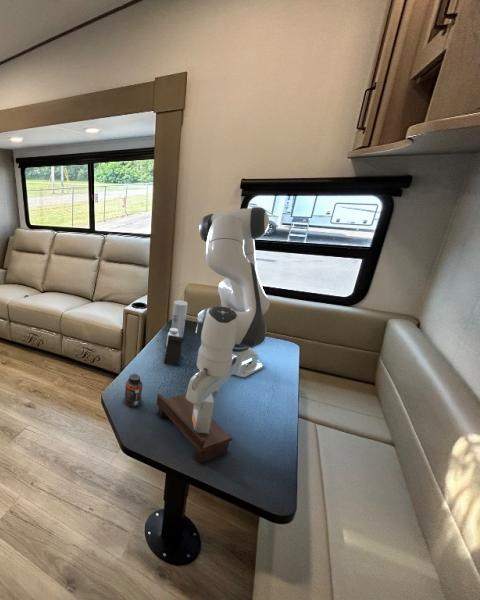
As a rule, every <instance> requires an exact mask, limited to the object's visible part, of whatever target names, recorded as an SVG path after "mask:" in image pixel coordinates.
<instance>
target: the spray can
mask: <svg viewBox="0 0 480 600" xmlns="http://www.w3.org/2000/svg"><path fill="white" fill-rule="evenodd" d="M188 305H189V304H188V302H187V301H185V300H181V299H180V300H179V299H178V300H175V301H174V303H173V309H172V310H173V311H172V319H171V320H172V321H171V327H170V328H177V329H178V334H179V337H181V338H183V339H184V332H185V326H186V318H187V312H188Z"/></svg>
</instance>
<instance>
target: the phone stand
mask: <svg viewBox="0 0 480 600" xmlns="http://www.w3.org/2000/svg"><path fill="white" fill-rule="evenodd" d="M183 339H184V337H183V338H181V337H176V336H171V335H169V337H168V343H167V342H166V345H167V346H166V350H165V357H164V361H163V362H164V364H167V365H170V366H177V367H178V366H179V363H180V361H181V355H182V346H183Z"/></svg>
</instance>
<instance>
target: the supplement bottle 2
mask: <svg viewBox="0 0 480 600" xmlns="http://www.w3.org/2000/svg"><path fill="white" fill-rule="evenodd" d="M169 335H171V336H176V337H179V334H178V329H177V328H171V327H170V328H169V332H168V333H167V336H166V337H167V338H166V345H165V346H166V347H167V343H168V337H169Z"/></svg>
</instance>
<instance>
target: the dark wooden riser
mask: <svg viewBox="0 0 480 600" xmlns="http://www.w3.org/2000/svg"><path fill="white" fill-rule="evenodd" d="M186 394H187V393H183V394H178V395H174V396H172V397H169V398H164V396H163V395H162V394H161V393H159V394H158V393H157V398H156V406H157V407H158V410H157V416H158V417H159V418H160V419H163V418H166V417H167V418H168V419H169V420H170V421H171V422H172V423H173V424H174V426H175V427H176V428H177V429H178V430H179V431H180V432H181V433H182V435H184V436H185V438H187V440H188V441H189V442H190V443H191V444H192V445H193V446H194V448H195V449H196V456H195V459H196V460H197V461H198V463H200V464H202V463H205V462H208V461H210V460H214V459H215V458H218V457H221V456H224V455H227V454H228V453H227V452H228V448H229V443H230V442H232V441H233V436H231V435H230V434H229V433H228V432H227V431H226V430H225V429H224V428H223V427H221V425H220V424H219V423H217V422H216V420H214V419H213V417H212V418H211V423H210V429H209V434H205V433H197V432H196V431H195V430H194V425H193V421H192V416H193V410H194V404H192V403H191V402H189V401H187V399H186Z"/></svg>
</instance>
